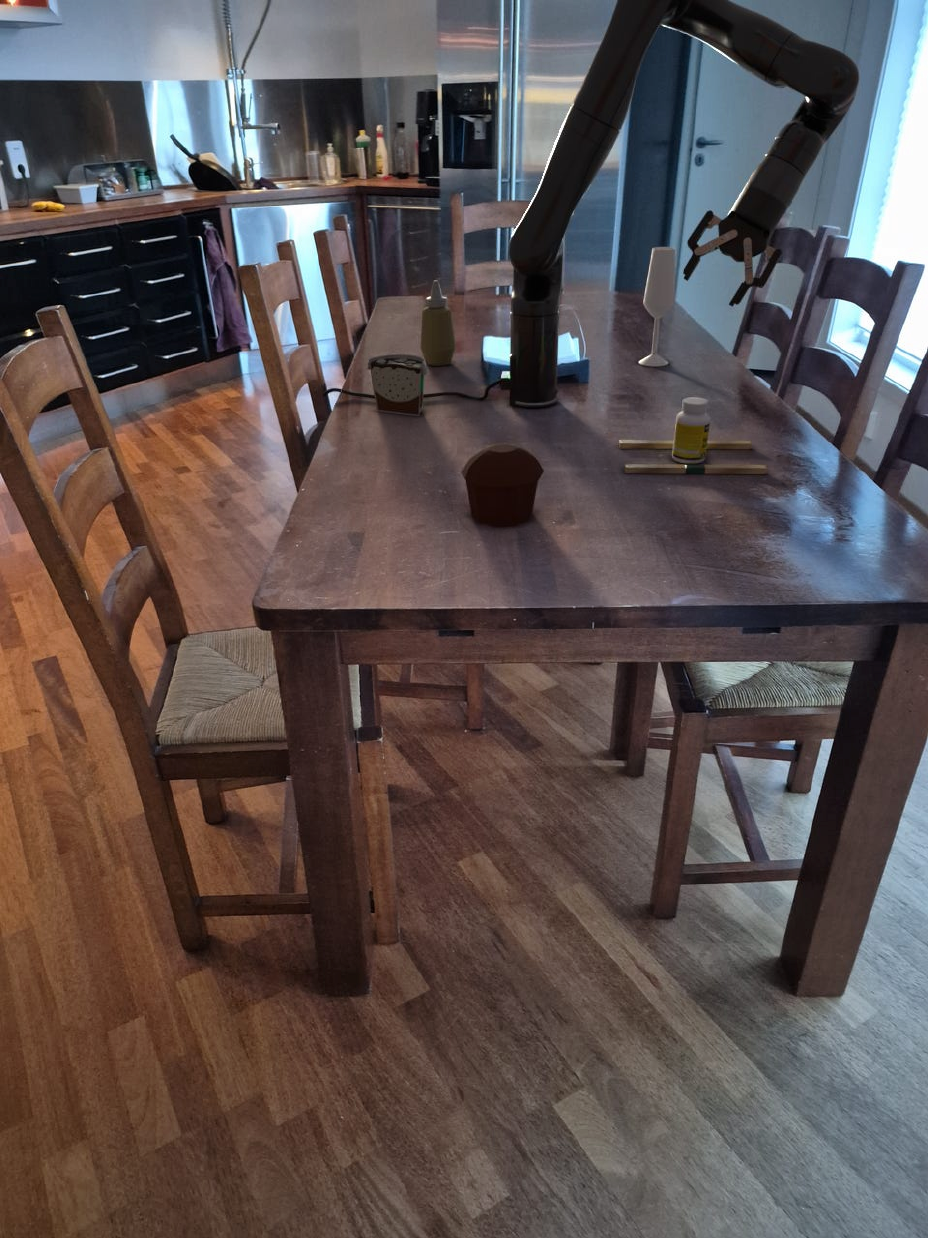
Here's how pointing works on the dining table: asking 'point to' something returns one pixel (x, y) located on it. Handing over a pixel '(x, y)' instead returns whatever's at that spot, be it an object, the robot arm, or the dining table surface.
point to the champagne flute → (659, 295)
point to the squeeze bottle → (437, 329)
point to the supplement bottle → (691, 431)
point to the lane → (690, 468)
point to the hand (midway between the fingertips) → (708, 292)
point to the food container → (398, 383)
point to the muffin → (502, 484)
